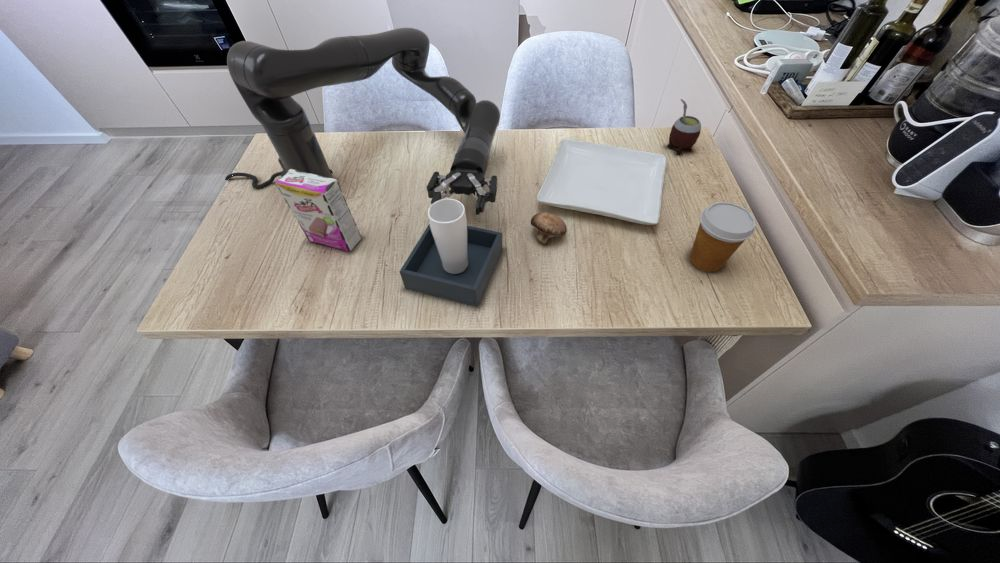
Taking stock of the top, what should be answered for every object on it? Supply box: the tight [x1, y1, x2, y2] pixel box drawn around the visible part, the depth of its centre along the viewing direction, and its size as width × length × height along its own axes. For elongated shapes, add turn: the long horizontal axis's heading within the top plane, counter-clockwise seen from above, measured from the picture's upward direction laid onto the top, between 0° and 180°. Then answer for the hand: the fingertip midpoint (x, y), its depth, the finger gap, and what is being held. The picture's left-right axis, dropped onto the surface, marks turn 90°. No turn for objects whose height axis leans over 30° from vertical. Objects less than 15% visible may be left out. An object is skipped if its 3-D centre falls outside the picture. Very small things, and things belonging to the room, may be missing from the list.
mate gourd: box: [666, 98, 702, 156], centre depth 101 cm, size 8×8×15 cm
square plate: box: [535, 138, 668, 226], centre depth 96 cm, size 27×27×4 cm
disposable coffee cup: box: [689, 201, 757, 273], centre depth 77 cm, size 10×10×12 cm
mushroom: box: [530, 211, 568, 245], centre depth 86 cm, size 8×8×6 cm
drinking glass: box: [427, 198, 468, 274], centre depth 76 cm, size 7×7×15 cm
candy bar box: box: [275, 169, 362, 253], centre depth 82 cm, size 11×5×16 cm, turn 71°
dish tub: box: [399, 223, 504, 308], centre depth 80 cm, size 16×16×5 cm
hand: (455, 210), depth 78 cm, fingers open, 8 cm apart
